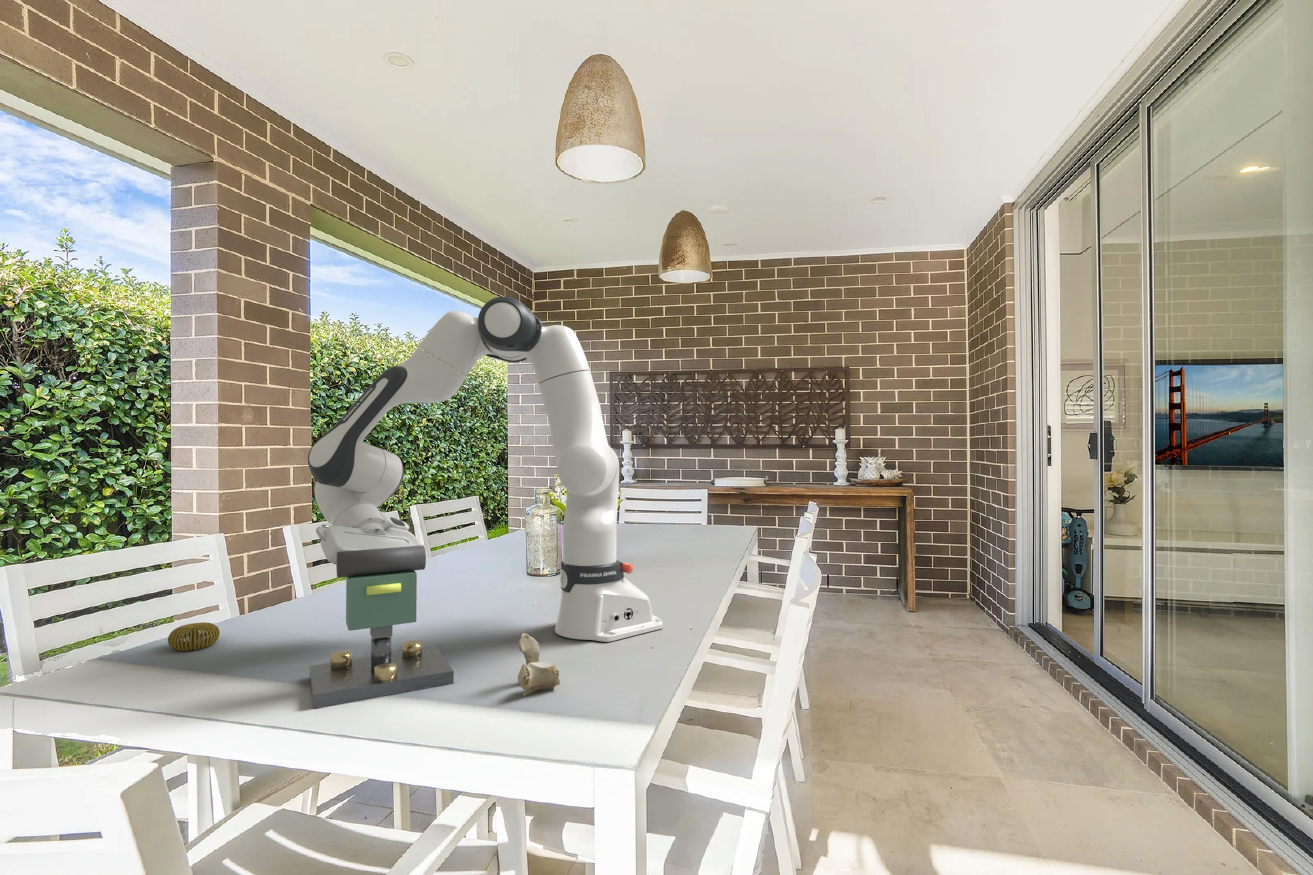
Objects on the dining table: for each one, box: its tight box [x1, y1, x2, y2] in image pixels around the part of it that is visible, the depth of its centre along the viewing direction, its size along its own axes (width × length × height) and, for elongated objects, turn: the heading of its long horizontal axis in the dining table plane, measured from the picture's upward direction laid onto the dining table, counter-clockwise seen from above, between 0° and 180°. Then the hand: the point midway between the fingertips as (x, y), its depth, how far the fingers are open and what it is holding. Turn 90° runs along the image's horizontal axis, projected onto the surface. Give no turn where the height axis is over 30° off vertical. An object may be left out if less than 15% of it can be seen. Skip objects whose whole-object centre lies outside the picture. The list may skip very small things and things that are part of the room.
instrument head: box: [335, 544, 427, 638], centre depth 104 cm, size 13×6×14 cm, turn 120°
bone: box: [517, 633, 561, 696], centre depth 101 cm, size 9×6×10 cm
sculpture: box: [167, 621, 221, 652], centre depth 122 cm, size 8×4×8 cm
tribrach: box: [309, 636, 455, 709], centre depth 105 cm, size 20×14×7 cm
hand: (394, 577), depth 118 cm, fingers closed
